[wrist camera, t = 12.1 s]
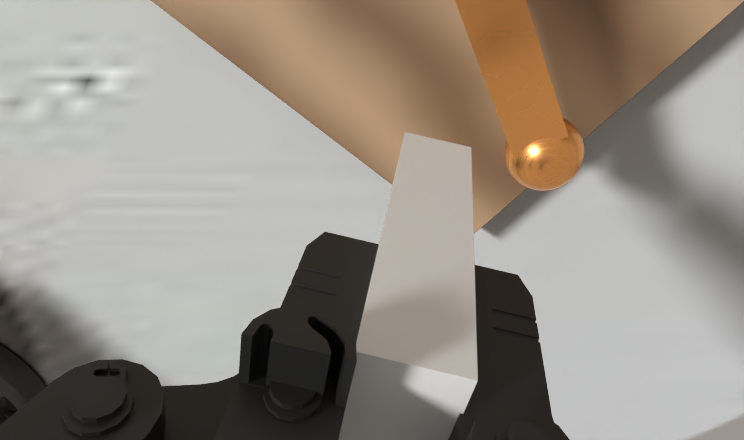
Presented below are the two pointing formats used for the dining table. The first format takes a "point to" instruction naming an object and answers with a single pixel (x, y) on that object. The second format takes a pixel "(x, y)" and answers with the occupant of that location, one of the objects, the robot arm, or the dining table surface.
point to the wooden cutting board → (441, 68)
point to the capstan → (522, 94)
